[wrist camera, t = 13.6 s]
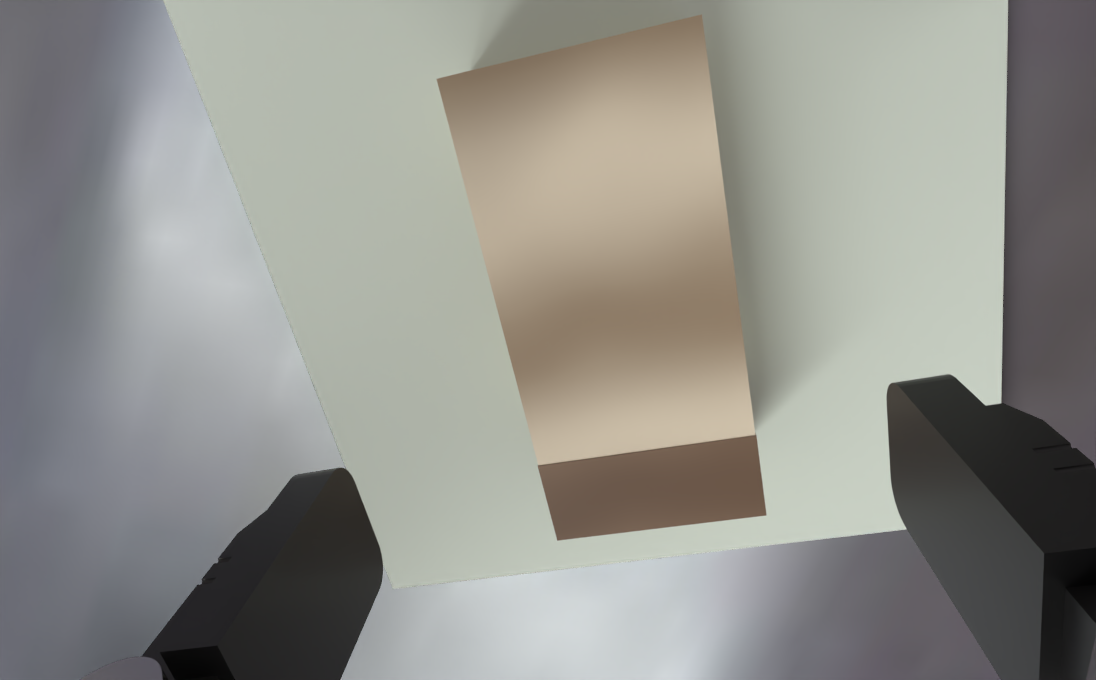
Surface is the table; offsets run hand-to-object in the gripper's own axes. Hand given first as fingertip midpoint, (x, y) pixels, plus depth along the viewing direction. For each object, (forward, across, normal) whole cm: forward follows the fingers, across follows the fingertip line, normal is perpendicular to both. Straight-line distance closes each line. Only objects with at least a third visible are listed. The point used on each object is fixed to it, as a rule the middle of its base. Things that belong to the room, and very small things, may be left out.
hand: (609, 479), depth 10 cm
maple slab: (+10, 0, 0) cm, 10 cm away
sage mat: (+10, 0, 0) cm, 11 cm away
